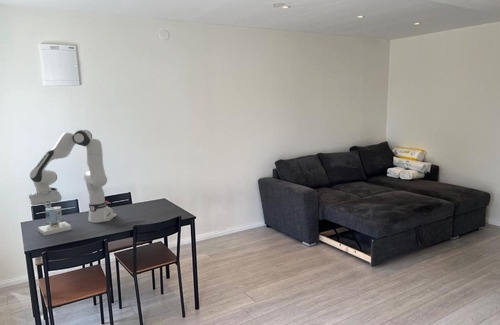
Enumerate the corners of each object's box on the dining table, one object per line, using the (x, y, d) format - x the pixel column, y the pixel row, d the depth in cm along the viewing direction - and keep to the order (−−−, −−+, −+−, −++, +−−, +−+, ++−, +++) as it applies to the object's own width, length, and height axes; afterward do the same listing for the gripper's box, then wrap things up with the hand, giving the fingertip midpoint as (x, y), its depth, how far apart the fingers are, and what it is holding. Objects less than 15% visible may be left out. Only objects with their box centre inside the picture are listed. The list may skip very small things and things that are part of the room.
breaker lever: (51, 226, 261) (48, 211, 262) (56, 225, 263) (53, 210, 264) (52, 225, 259) (49, 211, 260) (57, 224, 262) (54, 210, 262)
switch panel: (38, 231, 260) (37, 222, 259) (65, 225, 272) (64, 217, 271) (44, 235, 251) (43, 227, 250) (71, 229, 263) (70, 221, 262)
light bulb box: (46, 223, 275) (45, 210, 274) (46, 221, 281) (45, 208, 279) (62, 221, 281) (61, 208, 279) (61, 219, 287) (60, 206, 285)
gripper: (28, 192, 262) (33, 207, 257) (59, 187, 276) (64, 202, 271) (27, 196, 266) (32, 212, 260) (57, 192, 280) (62, 207, 274)
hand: (48, 207), depth 266 cm, fingers closed
